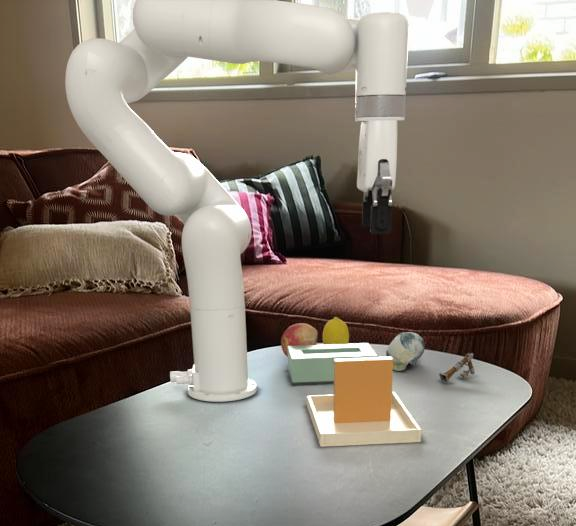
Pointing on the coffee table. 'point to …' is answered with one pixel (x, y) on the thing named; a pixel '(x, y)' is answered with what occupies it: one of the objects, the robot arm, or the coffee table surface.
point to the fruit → (298, 336)
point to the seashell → (405, 350)
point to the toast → (362, 389)
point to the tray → (361, 425)
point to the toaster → (321, 361)
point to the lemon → (335, 332)
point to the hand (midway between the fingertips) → (376, 230)
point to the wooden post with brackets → (457, 367)
